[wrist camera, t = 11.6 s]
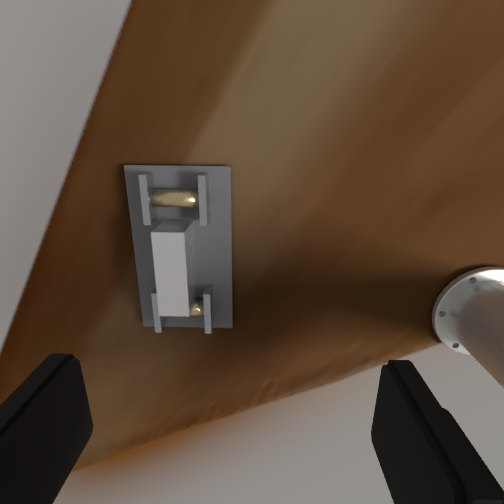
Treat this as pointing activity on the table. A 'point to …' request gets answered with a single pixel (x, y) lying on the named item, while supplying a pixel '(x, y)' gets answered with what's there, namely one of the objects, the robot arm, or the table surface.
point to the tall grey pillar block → (174, 267)
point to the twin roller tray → (202, 201)
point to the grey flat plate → (205, 238)
